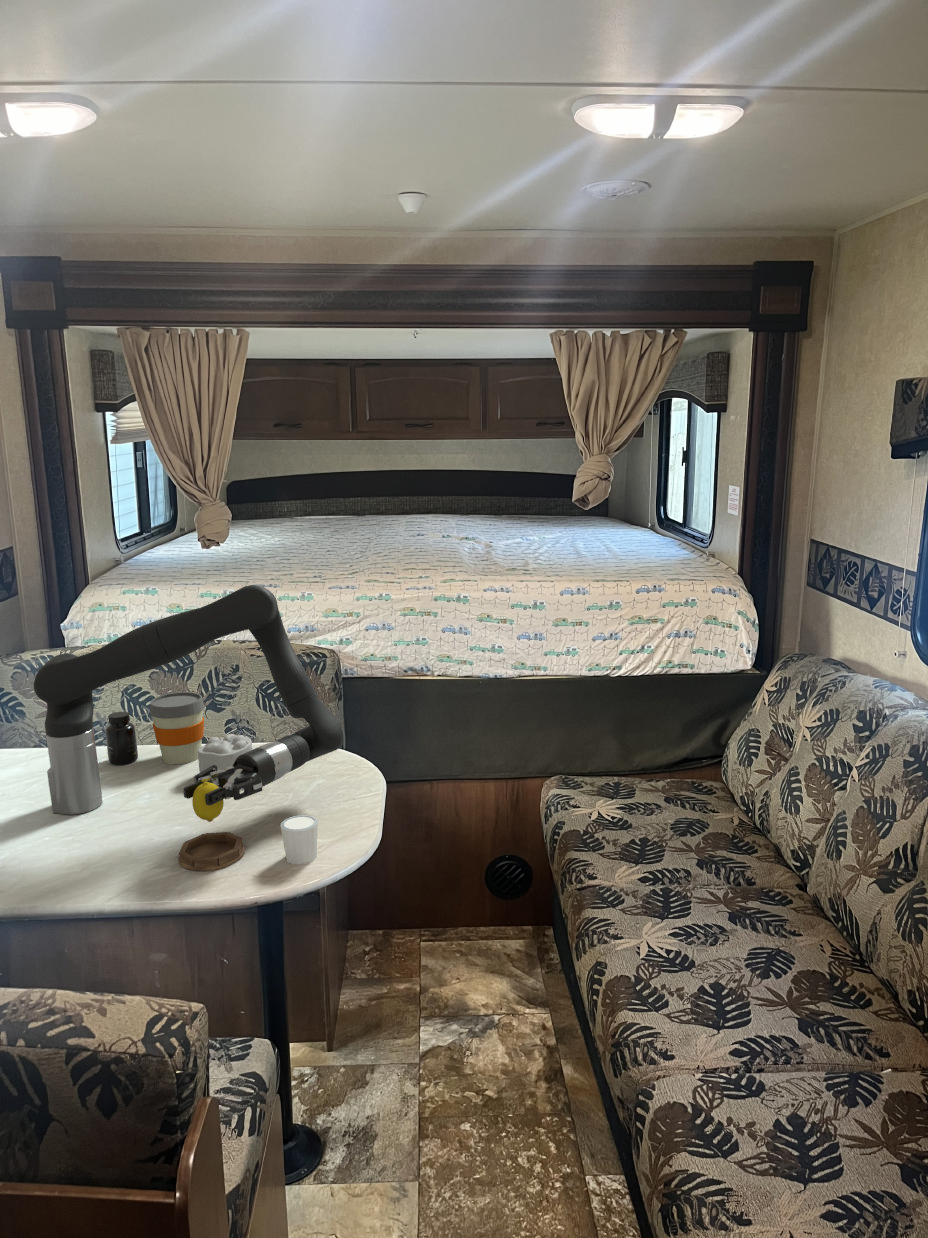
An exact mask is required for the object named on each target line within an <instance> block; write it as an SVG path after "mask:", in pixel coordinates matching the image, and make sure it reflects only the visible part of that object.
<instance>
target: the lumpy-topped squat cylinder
mask: <svg viewBox="0 0 928 1238" xmlns="http://www.w3.org/2000/svg"><path fill="white" fill-rule="evenodd" d="M251 750H253V742H252V738H251V737H249V736H247V735H242V734H237V735H236V734H234V733H229V734H226V735H225V736H224V737H217V736H212V737H210V738H209V739H208V740H207V743H206V744H204V745H201V748H200V749H198V759H197V760H198V769H199V773H200V772H202V771H204V770H205V769H207V768H209V767H210V766H213V765H217V769H219V770H222V769H224V768H226V767H230V766H233V764H234V762H235V760H236V758H237V757H238V756H240V755H242V754H244V753H246V752H248V751H251ZM210 783H211V782H210ZM216 784H217V785H219V783H218V778H217V779H216Z"/></svg>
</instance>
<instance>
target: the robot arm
mask: <svg viewBox="0 0 928 1238" xmlns="http://www.w3.org/2000/svg"><path fill="white" fill-rule="evenodd" d="M278 606H279V605H278V601H277V598H276V596H275V594H274V593H272V591H271V590H269V589H268V588H266V587H264V586H260V585H257V584H254V585H253V584H251V585H246V586H243V587H241V588H239V589H237V590H235V591H233V592H231V593H229V594H227V595H225V596H224V597H221V598H219V599H218V600H215V601H213V602H211V603H209V604H206V605H203V606H201V607H198V608H194V609H191V610H186V611H181V612H179V613H175V614H172V615H169V616H166V617H163V618H159V619H157V620H154V621H151V622H149V623H147V624H146V623H145V624H144V625H141V626H139V627H137V628H134V629H132V630H130V631H129V632H126V633H124V634H123V635H120V636H119V637H117V638H116V639H114V640H112V641H110V642H108V643H107V644H104V645H103V646H101V647H100V648H98V649H96V650H93V651H91V652H88V653H85V654H82V655H79V656H78V655H75V654H73V653H60V654H57V655H55V656H52V658H50V659H49V660H48V661H47V662H45V663H44V664H43V665H42V666H41V668H39V669H38V671H37V673H36V674H35V677H34V680H33V690H34V694H35V695H36V696H37V698H39V699H40V700H41V701H43V702H45V703H46V714H45V720H44V730H45V737H46V745H47V753H48V759H49V765H50V766H49V769H48V770H47V771H46V774H47V779H48V787H49V796H50V803H51V808H52V809H51V810H52V813H53V814H56V813H57V814H62V815H79V814H83V813H88V812H91V811H93V810H95V809H97V808H99V807H100V806H102V803H103V792H102V785H101V779H100V778H101V777H100V776H101V775H100V769H99V763H98V761H99V760H98V754H97V745H96V738H95V737H96V736H95V729H94V721H93V719H94V717H93V716H94V709H95V708H94V697H93V691H95V690H98V689H99V688H101V687H103V686H105V685H107V684H110V683H113V682H115V681H120V680H122V679H125V678H128V677H132V676H135V675H139V674H142V673H144V672H148V671H150V670H153V669H156V668H159V667H162V666H164V665H168V664H169V663H172V662H175V661H178V660H179V659H181V658H184V657H186V656H188V655H190V654H192V653H193V652H196V651H197V650H199V649H201V648H203V647H204V646H206V645H208V644H209V643H211V642H213V641H215V640H217V639H221V638H223V637H226V636H229V635H232V634H237V633H240V632H244V631H249V632H250V634H252V636H253V638H254V639H255V640H256V642H257V644H258V646H259V647H260V649H261V651H262V653H263V656H264V658H265V660H266V663H267V665H268V668H269V672H270V674H271V677H272V679H273V682H274V684H275V687H276V690H277V692H278V694H279V696H280V698H281V700H282V702H283V704H284V706H285V708H286V710H287V712H288V714H289V715H290V716H291V717H292V718H294V719H303V720H305V722H306V723H308V726H305V727H304V728H301V729H299V730H298V731H295V732H294V733H292V734H289V735H285V736H283V737H280V738H279V739H277V740H274V741H272V742H269V743H268V742H266V743H265V744H262V745H260V746H258V747H255V748H254V749H253V748H252V750H251V751H248V752H246V753H244V754H242V755H240V756H238V757H237V758H236V760H235V762H234V764H233V766H230V767H226V768H224V769H222V770H219V769H217V765H213V766H210V767H209V768H207V769H205V770H204V771H202V772H200V771H199V773H197V774H196V775H194V780H195V781H194V782H193V783H190V784H189V785H186V786H184V787H183V791H182V792H183V797H184V799H187V800H188V799H189V800H190V799H191V798H193V794H194V791H195V790H196V788H197V787H198V786H199V785H201V784H203V783H204V782H208V783H210V782H211V783H213V784H215V785H217V786H218V787H219V788H217V789H215V790H213V791H211V792H209V793H207V794H206V795H205V801H206V805H209V806H210V805H213V804H215V803H217V802H219V801H221V800H223V801H224V799H225V800H230V799H232V798H233V800H234V801H239V800H241V799H244V798H247V797H251V796H252V795H255V794H258V793H260V792H263V788H264V787H265V786H267V785H269V784H271V783H273V782H275V781H278V780H279V779H281V778H283V777H284V776H285V775H287V774H288V773H291V772H293V771H295V770H296V769H299V768H301V767H302V766H304V765H305V764H306V763H307V762H311V761H312V760H315V759H318V758H320V757H322V756H325V755H327V754H330V753H332V752H335V751H338V749H340V748H341V747H342V745H343V743H344V737H345V736H344V731H343V728H342V726H341V723H340V721H339V720H338V719H337V718H336V716H335V715H334V714H333V713H332V712H331V711H330V709H329V708H328V707H327V706H326V705H325V703H323V701H322V700H321V699H320V698H319V696H318V693H316V692H317V691H316V690H315V688H314V686H313V684H312V682H311V680H310V678H309V676H308V673H307V672H306V670H305V668H304V666H303V664H302V663H301V661H300V658H299V657H298V655H297V654H296V653H297V652H295V649H294V648H293V646H292V644H291V641H290V639H289V636H288V634H287V631H286V629H285V625H284V624H283V620H282V617H281V613H280V610H279V607H278ZM217 778H218V783H219V785H218V784H216V779H217Z"/></svg>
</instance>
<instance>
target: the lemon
mask: <svg viewBox="0 0 928 1238" xmlns="http://www.w3.org/2000/svg"><path fill="white" fill-rule="evenodd" d="M217 785H218V784H217ZM217 785H215V784H213V783H208V782H204V783H203V784H201V785H199V786H198V787H197V788H196V790H195V791H194V794H193V797H192V801H191V802H192V803H191V804H192V809H193V812H194V813H195V815H196V816H197V817H198V818H200V819H201V820H205V821H207V822H208V823H211V822H213V820H214V819H217V817H219V816H220V815H221V813H222V811H223V809H224V804H225V803H224V799H223V800H221V801H219V802H217V803H215V804H213V805H210V806H209V805H206V801H205V795H206V794H207V793H209V792H211V791H213V790H215V789H217V788H219V787H218V786H217Z"/></svg>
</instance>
